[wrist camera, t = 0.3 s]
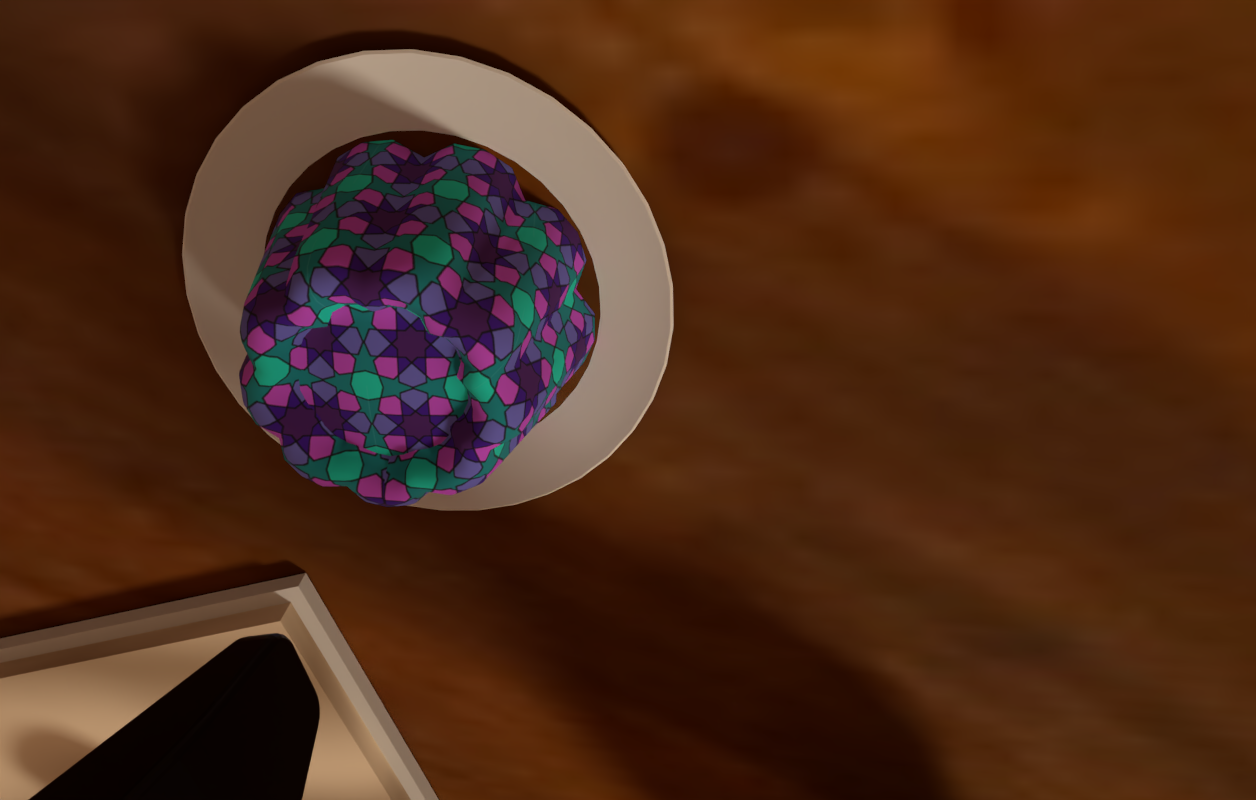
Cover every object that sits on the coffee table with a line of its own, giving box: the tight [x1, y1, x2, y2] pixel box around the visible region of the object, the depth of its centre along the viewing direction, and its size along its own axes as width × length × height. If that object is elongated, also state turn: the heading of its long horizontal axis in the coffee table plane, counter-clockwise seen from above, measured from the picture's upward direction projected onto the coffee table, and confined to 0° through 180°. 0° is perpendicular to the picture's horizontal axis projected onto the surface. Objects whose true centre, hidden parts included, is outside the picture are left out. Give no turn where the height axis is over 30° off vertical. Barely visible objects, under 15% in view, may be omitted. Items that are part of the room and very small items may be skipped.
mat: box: [0, 573, 439, 800], centre depth 31 cm, size 16×16×1 cm
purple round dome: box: [182, 49, 673, 510], centre depth 20 cm, size 12×12×5 cm
